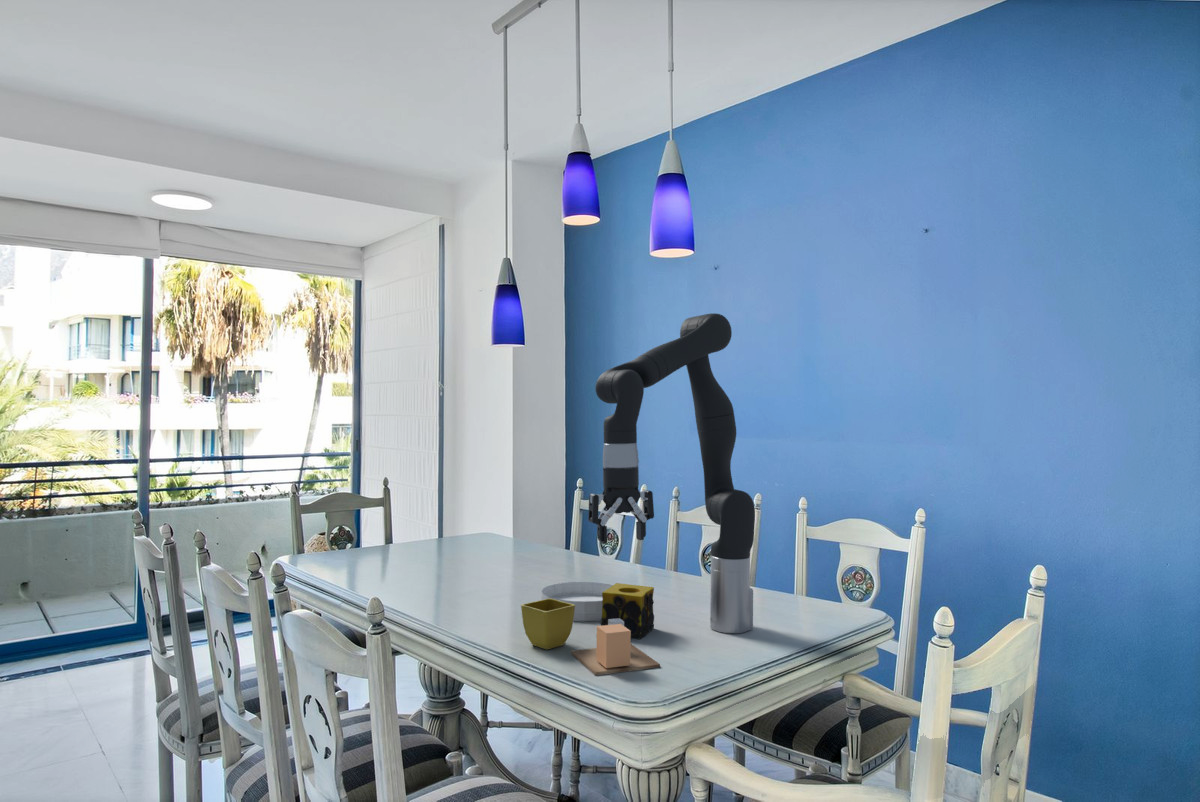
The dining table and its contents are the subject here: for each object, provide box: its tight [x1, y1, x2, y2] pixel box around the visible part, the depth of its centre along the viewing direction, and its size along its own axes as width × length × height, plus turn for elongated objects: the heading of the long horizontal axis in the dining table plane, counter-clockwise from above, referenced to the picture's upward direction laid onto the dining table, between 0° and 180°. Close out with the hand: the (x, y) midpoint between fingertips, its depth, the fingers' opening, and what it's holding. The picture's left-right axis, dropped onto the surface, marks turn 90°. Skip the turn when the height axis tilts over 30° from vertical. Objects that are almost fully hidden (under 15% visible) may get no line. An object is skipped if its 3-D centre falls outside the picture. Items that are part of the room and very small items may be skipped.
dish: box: [540, 581, 614, 622], centre depth 194 cm, size 22×22×5 cm
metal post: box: [608, 618, 624, 626], centre depth 158 cm, size 3×3×6 cm
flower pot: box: [520, 598, 575, 650], centre depth 163 cm, size 9×9×9 cm
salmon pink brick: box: [596, 624, 632, 668], centre depth 149 cm, size 5×5×7 cm
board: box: [570, 643, 661, 676], centre depth 154 cm, size 14×14×1 cm
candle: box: [600, 582, 655, 640], centre depth 175 cm, size 10×10×10 cm
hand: (621, 541), depth 157 cm, fingers open, 8 cm apart
